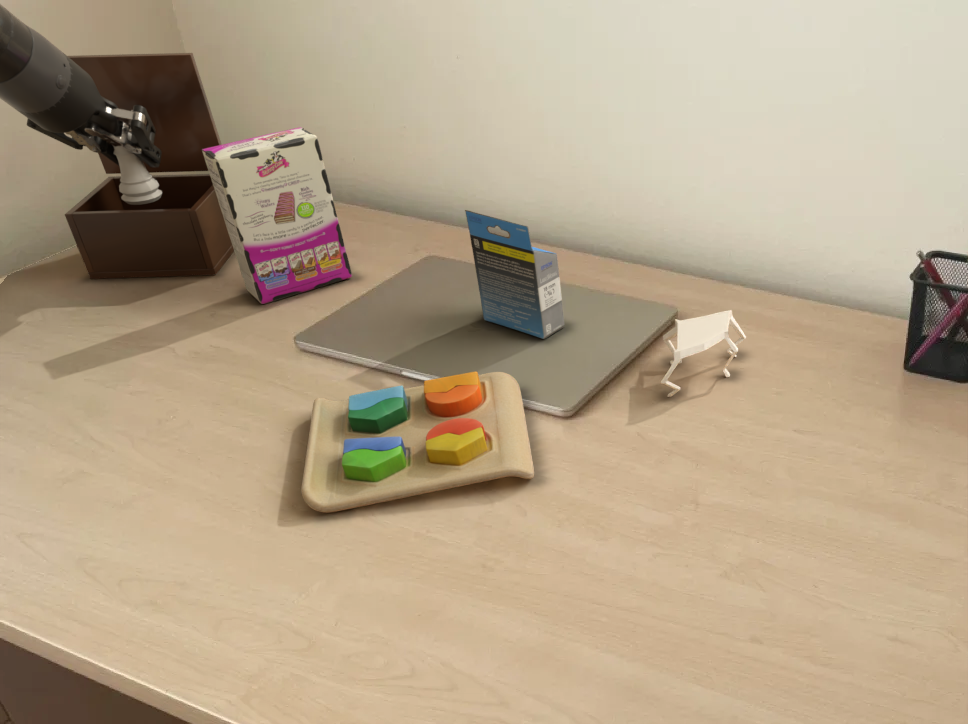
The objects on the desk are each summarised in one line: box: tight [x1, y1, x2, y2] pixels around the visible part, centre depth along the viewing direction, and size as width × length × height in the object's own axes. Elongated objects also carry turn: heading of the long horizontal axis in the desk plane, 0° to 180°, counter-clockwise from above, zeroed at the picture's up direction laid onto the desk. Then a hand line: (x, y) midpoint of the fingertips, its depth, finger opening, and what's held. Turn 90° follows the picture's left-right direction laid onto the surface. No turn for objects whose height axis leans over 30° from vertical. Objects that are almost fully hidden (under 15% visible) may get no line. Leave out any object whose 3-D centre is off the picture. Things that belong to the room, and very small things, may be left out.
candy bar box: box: [202, 126, 353, 305], centre depth 118 cm, size 11×5×16 cm, turn 130°
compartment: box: [64, 173, 235, 280], centre depth 127 cm, size 13×15×8 cm
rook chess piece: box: [113, 132, 162, 205], centre depth 122 cm, size 4×4×8 cm
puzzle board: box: [300, 371, 535, 513], centre depth 94 cm, size 18×19×3 cm
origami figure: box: [660, 309, 747, 398], centre depth 103 cm, size 12×8×5 cm
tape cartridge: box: [464, 209, 565, 340], centre depth 110 cm, size 9×4×12 cm, turn 57°
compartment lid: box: [67, 52, 223, 175], centre depth 127 cm, size 14×15×5 cm
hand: (140, 159), depth 123 cm, fingers closed on rook chess piece, 3 cm apart
